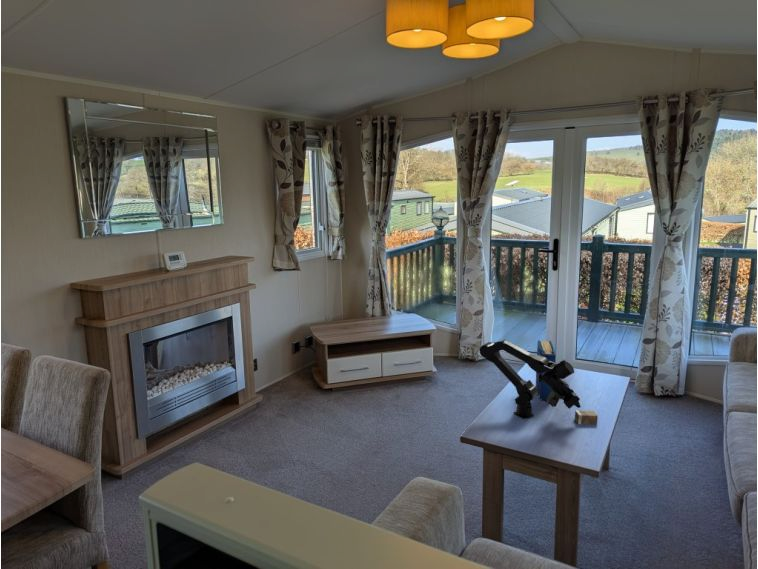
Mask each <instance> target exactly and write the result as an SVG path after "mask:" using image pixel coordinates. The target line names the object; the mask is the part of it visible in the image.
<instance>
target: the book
mask: <svg viewBox="0 0 758 569" xmlns="http://www.w3.org/2000/svg"><path fill="white" fill-rule="evenodd" d="M536 346H537V347H536V348H537V349H536V355H539V356H542V357H545V358H547V359H548V360H549V361H551V362H553V363H556V350H555V349H556V348H555V346H554V343H553V342H552V341H551V340H549V341H548V340H537V345H536ZM543 373H545V372H543ZM543 373H537V372H535V386H536V387H535V388H536V389H537V396H538V397H539V400H540V401H543V402H547V398H548V396H549V394H550V393H551V391H552V389H551V387H550V386H549V385H548V384H547V383H546V382H545V381H544V380H543V381H541V382H540V383H539V382H538V381H539V377H538V376H539V374H543Z"/></svg>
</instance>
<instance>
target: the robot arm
mask: <svg viewBox="0 0 758 569" xmlns="http://www.w3.org/2000/svg"><path fill="white" fill-rule="evenodd" d="M500 351H504V352H505V353H507V354H509V355H511V356H513V357H515V358H516V359H519V360H520V361H522V362H524V363H525V364H527V365H528V367H529V368H530V369H531V370H533V371H534V372H535V373H536V372H537V373H543V372H545V373H543V374H539V376H538V377H539V381H538V382H539V383H540V382H541V381H543V380H544V381H545V382H546V383H547V384H548V385H549V386H550V387H551V389H552V391H551V393H550V394H549V396H548V398H547V401H546V403H547V404H548V405H550V406H551V408H552V407H554V408H556V407H557V404H558V403H559V401H560V400H563V404H564V405H565V406H566V407H567V409H571V408H572V407H573V406H575V407H576V408H578V409H580V408H581V404H580V400H581V398H580V397H579V396H578V394H577V393H575V392H574V390H573V389H572V388H571V387H570V385H569V383H567V382H566V381H565V380H564V379H566V378H567V377H569V376H571V375H573V374H574V373H575V368H574V367H573V365H572V364H571V363H570V362H569V361H567V360H566V359H562V360H561V361H560V362H558V363H556V362H555V363H553V362H551V361H549V360H548V359H547V358H545V357H542V356H539V355H537V354H533V353H531V352H529V351H527V350H525V349H523V348H521V347H519V346H518V345H516V344H514V343H512V342H510V341H509V340H508V339H502V340H500V341H495V342H491V341H489V342H488V341H487V342H486V343H484V344H483V345H480V347H479V355H481V357H483V358H484V359H485V360H487V361H488V362H490V363H492V364H494V366H495V367H497V368H496V369H498V370H499V371H500V372H501V373H502V374H503V375H504V376H505V377H506V379H507V380H509V382H510V383H511V384H512V386H514V387H515V390H516V392H517V394H518V396H517V397H516V398H515V399H514V402H515V404H516V411H514V412H513V414H514V415H515V416H518V417H520V418H521V419H527V418H530V417H534V416H535V414H533V412H532V411H533V407H532V403H531V401H532V400H534V399H535V398H536V397H537V396H538V393H537V389H536V384H534V383H533V382H532V381H531V380H530V379H529V380H525V379H523V378H522V377H521V376H520V375H519V374H518V372H517V371H515V369H513V367H512V366H511V365H510V364H509V362H507V360H505V358H504V357H502V355H501V353H500Z"/></svg>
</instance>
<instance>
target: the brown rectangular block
mask: <svg viewBox="0 0 758 569" xmlns="http://www.w3.org/2000/svg"><path fill="white" fill-rule="evenodd" d="M574 411H575V412H574V420H575V421H576V423H577V422H578V423H577V424H578V425H598V417H599V415H598V414H597V413H596V412H595V411H594V410H574Z"/></svg>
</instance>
